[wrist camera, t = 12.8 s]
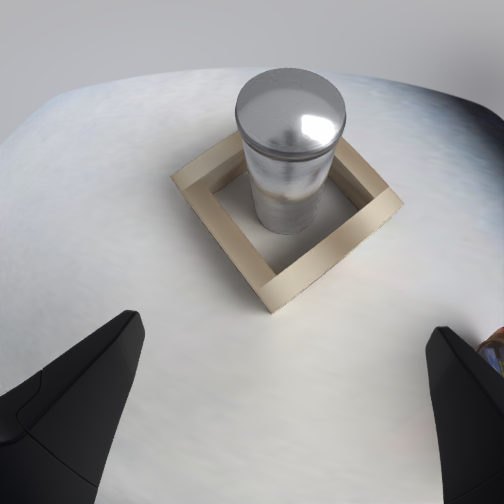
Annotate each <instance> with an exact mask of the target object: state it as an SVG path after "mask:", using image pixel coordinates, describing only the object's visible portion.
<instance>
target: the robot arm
mask: <svg viewBox="0 0 504 504" xmlns="http://www.w3.org/2000/svg"><path fill="white" fill-rule="evenodd" d="M144 338H145V330H144V326H143V323H142V320H141V317H140V314H139V312H137V311H132V310H125V311H123V312H122V313H120V314H119V315H117V316H116V317H115V318H113V319H112V320H110V321H109V322H107V323H106V324H105V325H103V326H102V327H100V328H99V329H97V330H96V331H95V332H93V333H92V334H90V335H89V336H87V337H86V338H85V339H83V340H82V341H80V342H79V343H78V344H76V345H75V346H73V347H72V348H70V349H69V350H68V351H66V352H65V353H63V354H62V355H61V356H59V357H58V358H56V359H55V360H54V361H52V362H51V363H50V364H48V365H47V366H45V367H44V368H43V369H42V370H40V371H38V372H37V373H36V374H34V375H33V376H31V377H30V378H29V379H27V380H26V381H24V382H23V383H21V384H20V385H18V386H17V387H15V388H13V389H12V390H10V391H9V392H7V393H5V394H4V395H2V396H0V504H94V502H95V498H96V495H97V491H98V487H99V484H100V480H101V477H102V474H103V470H104V467H105V464H106V460H107V457H108V454H109V451H110V448H111V445H112V442H113V438H114V435H115V432H116V429H117V426H118V423H119V421H120V418H121V415H122V412H123V409H124V406H125V403H126V400H127V398H128V395H129V392H130V389H131V387H132V384H133V381H134V377H135V374H136V370H137V366H138V362H139V358H140V354H141V350H142V346H143V342H144ZM426 360H427V368H428V377H429V387H430V395H431V401H432V406H433V412H434V418H435V424H436V430H437V437H438V444H439V452H440V461H441V471H442V483H443V500H444V504H504V377H503V376H502V375H501V374H500V373H499V372H498V371H497V370H495V369H494V368H493V367H492V366H491V365H490V364H489V363H488V362H487V361H486V360H485V359H484V358H483V357H482V356H480V355H479V354H478V353H477V352H476V351H475V350H474V349H473V348H472V347H471V346H469V345H468V344H467V343H466V342H465V341H464V340H463V339H462V338H460V337H459V336H458V335H457V334H456V333H455V332H454V331H453V330H451V329H450V328H449V327H447V326H438V327H436V328H435V329H434V331H433V333H432V335H431V337H430V339H429V341H428V343H427V345H426Z"/></svg>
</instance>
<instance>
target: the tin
mask: <svg viewBox="0 0 504 504" xmlns="http://www.w3.org/2000/svg"><path fill="white" fill-rule="evenodd" d="M475 351H476V352H477V353H478V354H479V355H480V356H482V357H483V358H484V359H485V360H486V361H487V362H488V363H489V364H490V365H491V366H492V367H493V368H494V369H495V370H497V371H498V372H499V373H500V374H501V375H502V376H503V377H504V327H502V328H500V329H498V330H497V331H496V332H495V333H494V334H493V335H492V336H490V337H489V338H488V339H487V340H486V341H484V342H482V343H481V344H480V345H479V346H478V347H477V348H476V349H475Z"/></svg>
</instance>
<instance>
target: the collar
mask: <svg viewBox="0 0 504 504" xmlns="http://www.w3.org/2000/svg"><path fill="white" fill-rule="evenodd" d="M247 170H248V167H247V162H246V157H245V151H244V146H243V141H242V137H241V135H240V133H239V130H238V131H237V132H235V133H234V134H232V135H230V136H229V137H227V138H226V139H224V140H223V141H221V142H220V143H218V144H217V145H215V146H213V147H212V148H210V149H209V150H207V151H206V152H205V153H203V154H202V155H200V156H199V157H197V158H196V159H194V160H193V161H191V162H190V163H189V164H187V165H186V166H184V167H183V168H181V169H180V170H179V171H177V172H176V173H174V174H173V175H172V176H170V177H171V178H172V180H173V181H174V183H175V184H176V186H177V187H178V189H179V190H180V192H181V193H182V195H183V196H184V197H185V199H186V200H187V202H188V203H189V204H190V206H191V207H192V208H193V210H194V211H195V213H196V214H197V215H198V217H199V218H200V219H201V221H202V222H203V223H204V225H205V226H206V227H207V229H208V230H209V232H210V233H211V234H212V236H213V237H214V238H215V240H216V241H217V242H218V244H219V245H220V246H221V248H222V249H223V250H224V252H225V253H226V254H227V256H228V257H229V258H230V260H231V261H232V262H233V264H234V265H235V266H236V268H237V269H238V270H239V272H240V273H241V274H242V276H243V277H244V278H245V280H246V281H247V282H248V284H249V285H250V286H251V288H252V289H253V290H254V292H255V293H256V294H257V296H258V297H259V298H260V299H261V301H262V302H263V303H264V305H265V306H266V307H267V309H268V310H269V311H270V313H271V314H274V313H275V312H276V311H278V310H279V309H280V308H282V307H283V306H284V305H286V304H287V303H288V302H289V301H291V300H292V299H293V298H295V297H296V296H297V295H298V294H300V293H301V292H302V291H304V290H305V289H306V288H307V287H309V286H310V285H311V284H312V283H314V282H315V281H316V280H317V279H319V278H320V277H321V276H322V275H324V274H325V273H326V272H327V271H329V270H330V269H331V268H332V267H334V266H335V265H336V264H337V263H338V262H340V261H341V260H342V259H343V258H344V257H346V256H347V255H348V254H349V253H351V252H352V251H353V250H354V249H355V248H356V247H358V246H359V245H360V244H361V243H362V242H364V241H365V240H366V239H367V238H368V237H369V236H371V235H372V234H373V233H374V232H375V231H376V230H378V229H379V228H380V227H381V226H382V225H383V224H385V223H386V222H387V221H388V220H389V219H390V218H391V217H392V216H393V215H394V214H395V213H396V212H397V211H398V210H399V209H400V208H401V207H402V206H403V205H404V203H403V201H402V200H401V199H400V198H399V197H398V196H397V194H396V193H395V192H394V191H393V190H392V189H391V188H390V186H389V185H388V184H387V183H386V182H385V181H384V180H383V179H382V178H381V177H380V175H379V174H378V173H377V172H376V171H375V170H374V169H373V168H372V167H371V166H370V165H369V164H368V163H367V162H366V161H365V160H364V158H363V157H362V156H361V155H360V154H359V153H358V152H357V151H356V150H355V149H354V148H353V147H352V146H351V145H350V144H349V143H348V142H347V141H346V140H345V139H344V138H343V137H341V139H340V140H339V142H338V143H337V146H336V149H335V153H334V156H333V159H332V163H331V166H330V169H329V172H328V176H329V177H330V178H331V179H332V180H333V182H334V183H335V184H336V185H337V186H338V187H339V188H340V189H341V190H342V191H343V193H344V194H345V195H346V196H347V197H348V198H349V199H350V200H351V202H352V203H353V204H354V205H355V206H356V207H357V208H358V210H359V212H358V213H356V214H355V215H354V216H353V217H351V218H350V219H349V220H348V221H346V222H345V223H344V224H343V225H341V226H340V227H339V228H338V229H336V230H335V231H334V232H333V233H331V234H330V235H329V236H327V237H326V238H325V239H324V240H322V241H321V242H320V243H319V244H317V245H316V246H315V247H313V248H312V249H311V250H310V251H308V252H307V253H306V254H304V255H303V256H302V257H301V258H299V259H298V260H297V261H295V262H294V263H293V264H292V265H290V266H289V267H288V268H286V269H285V270H284V271H282V272H281V273H280V274H278V275H277V276H276V274H275V273H274V272H273V271H272V269H271V268H270V267H269V265H268V264H267V263H266V262H265V260H264V259H263V258H262V257H261V255H260V254H259V253H258V251H257V250H256V249H255V248H254V246H253V245H252V244H251V242H250V241H249V240H248V239H247V237H246V236H245V235H244V234H243V232H242V231H241V230H240V228H239V227H238V226H237V225H236V223H235V222H234V221H233V220H232V218H231V217H230V216H229V214H228V213H227V212H226V211H225V209H224V208H223V207H222V206H221V204H220V203H219V202H218V200H217V199H216V198H215V197H214V195H213V194H214V193H215V192H216V191H218V190H219V189H221V188H222V187H224V186H225V185H226V184H228V183H229V182H231V181H232V180H234V179H235V178H236V177H238V176H239V175H241V174H242V173H244V172H245V171H247Z"/></svg>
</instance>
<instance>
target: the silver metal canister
mask: <svg viewBox="0 0 504 504" xmlns="http://www.w3.org/2000/svg"><path fill="white" fill-rule="evenodd" d="M235 117H236V122H237V127H238V130H239V133H240V135H241V137H242V141H243V146H244V151H245V157H246V162H247V167H248V173H249V178H250V184H251V189H252V194H253V200H254V205H255V211H256V214H257V217H258V219H259V220H260V222H261V223H262V224H263V225H264V226H265V227H266V228H267V229H269V230H271V231H273V232H275V233H279V234H294V233H297V232H300V231H302V230H304V229H305V228H306V227H307V226H308V225H309V224H310V223H311V222H312V220H313V219H314V216H315V214H316V211H317V207H318V204H319V201H320V198H321V195H322V192H323V189H324V185H325V182H326V179H327V176H328V172H329V169H330V166H331V163H332V159H333V156H334V153H335V149H336V146H337V143H338V142H339V140H340V139H341V136H342V134H343V130H344V127H345V123H346V110H345V103H344V100H343V97H342V96H341V94H340V92H339V91H338V89H337V88H336V87H335V86H334V85H333V84H332V83H331V82H329V81H328V80H327V79H325V78H324V77H322V76H320V75H318V74H316V73H313V72H310V71H307V70H302V69H296V68H280V69H274V70H270V71H266V72H264V73H261V74H259V75H257V76H255V77H254V78H252V79H251V80H250V81H248V82H247V83H246V84H245V85H244V86H243V88H242V89H241V91H240V93H239V95H238V98H237V103H236V107H235Z"/></svg>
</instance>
